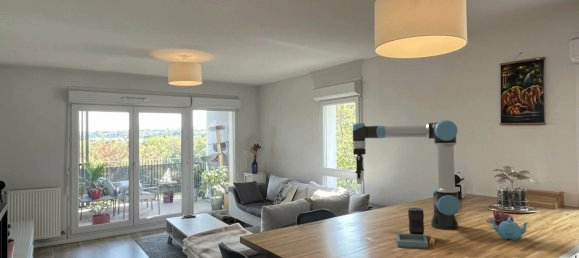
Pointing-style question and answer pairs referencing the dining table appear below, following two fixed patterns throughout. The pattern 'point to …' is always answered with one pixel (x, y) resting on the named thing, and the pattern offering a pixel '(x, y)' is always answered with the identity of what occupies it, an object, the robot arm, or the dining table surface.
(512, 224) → the teapot
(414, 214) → the camera lens
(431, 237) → the fuse puller tool
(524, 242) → the dining table surface
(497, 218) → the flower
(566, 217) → the dining table surface
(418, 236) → the tray
